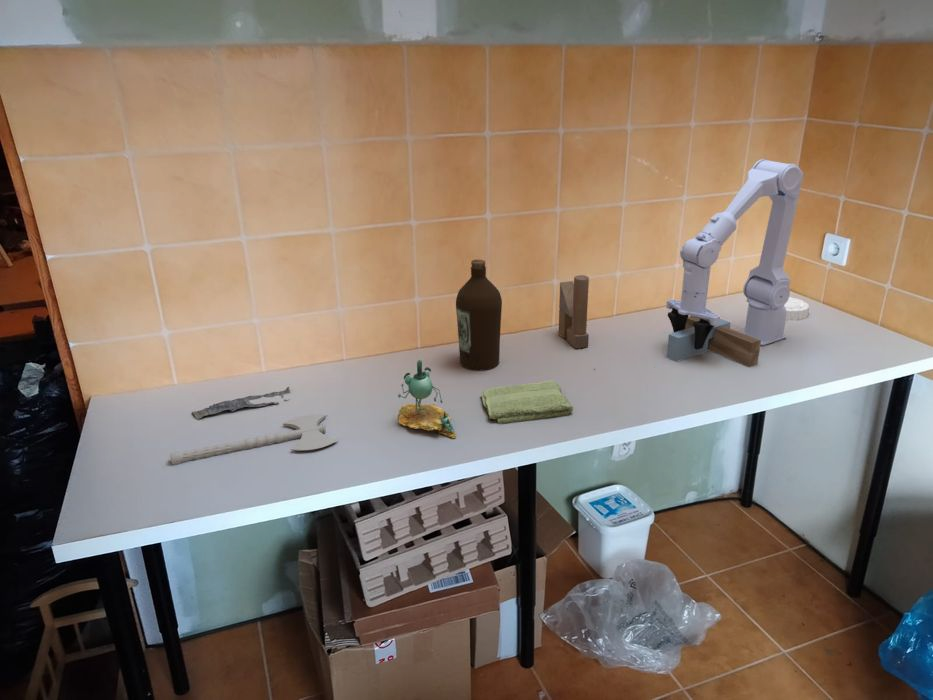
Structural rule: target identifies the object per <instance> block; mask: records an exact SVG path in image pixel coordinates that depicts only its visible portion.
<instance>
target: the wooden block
mask: <svg viewBox="0 0 933 700" xmlns="http://www.w3.org/2000/svg"><path fill="white" fill-rule="evenodd" d="M589 283H590V277H589V276H587V275H582V274H580V275H575V276H574V277H573V281H561V282H560V283H559V304H558V305H559V306H558V308H559V310H558V335H559V336H560V337H561V338H562V339H566V342H567V343H568V344H569V345H571V347H573V348H574V350H575V349H576V350H577V349H583V348H588V347H589V338H590V337H589V336H590V335H589V333H587V321H588V307H589V306H588V305H589V304H588V303H589V302H588V301H589Z"/></svg>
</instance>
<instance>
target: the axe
mask: <svg viewBox="0 0 933 700" xmlns="http://www.w3.org/2000/svg"><path fill="white" fill-rule="evenodd" d="M327 417H328V415H327V414H307V415H302V416H297V417H295V418H291V419H289V420H287V421H285V422H283V423H281V424H282V426H286V427H290V428H292V429H293V430H291V431H285V432H280V431H279V432H276V433H275V434H270V433H269V434H266V435H264V436H259V435H258V436H256V437H254V438H245V439H244V440H240V441H233V442H227V443H224V444H216V445H214V446H206V447H205V446H204V447H203V448H197V449H192V450H189V451H188V450H185V451H173V452H171V453H170V454H169V456H170V462H171V466H175V465H179V464H182V463H186V462H190V461H193V460H195V461H196V460H201V459H203V458H210V457H213V456H221V455H222V454H231V453H233V452H238V451H242V450H251V449H254V448H260V447H263V446H271V445H273V444H280V443H283V442H286V441H291V440H297V439H299V440H298V442H297V443H295V445H293V446H292V447H291V448H290V449H289V450H290V451H291V450H292V451H314V450H318V449H322V448H325V447H328V446H330V445H332V444H333V443H336V442H337V441H339V438H336V437H332V436H328V435H326V432H327V430H326V426H325V424H324V423H322V424H320V423H321V422H322V421H323V420H324V419H326V418H327ZM294 429H295V430H294Z"/></svg>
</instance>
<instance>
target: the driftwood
mask: <svg viewBox="0 0 933 700" xmlns="http://www.w3.org/2000/svg"><path fill="white" fill-rule="evenodd" d="M289 394H291V390H290V386H287V387H286V388H285V389H284V390H281V391H273V392H269V393H266V394H259V395H258V394H257V395H248V396H245V397H240V398H238V397H237V398H235V399H233V400H224V401H220V402H218V403H213V404H212V405H209V407H205V408H202V409H201V410H197V411H191V412H192V415H194V417H195V419H196V420H201V418H203V417H204V416H205V417H206V416H210V415H216V414H218V413H221V412H224V411H227V410H229V411H231V413H233V412H235V411H236V410H239V409H243V408H245V407H248V408H254V407H255V408H257V407H258V408H259V407H266V406H268V405H271V404H273V405H277V406H279V405H280V402H273V401H270V402H266V403H265V402H262V403H257V404H256V403H251V401H253V400H254V401H255V400H258V399H261V398H274V397H277V396H280V398H281V399H283V398H284V395H289ZM290 400H291V399H290V398H288V399H284V400H283V402H289V401H290Z"/></svg>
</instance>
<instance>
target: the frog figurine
mask: <svg viewBox="0 0 933 700" xmlns="http://www.w3.org/2000/svg"><path fill="white" fill-rule="evenodd" d="M431 372H432V369H431V368H430V367H428V366H427V367H424V371H423V360H422V359H418V360H417V363H416V373H414V374H413V376H411V372H406V373H405V375H404V376H403V380H404V383H405V384H406V386H407V387H408V390H406V391H404V385H405V384H404V383H401V384H400V386H401V389H402V394H406V395H405V396H402V395H401V393H398V395H397V397H398V398H403V399H406V398H407V397H408V395H409V394H410V395H411V396H412V397H413V398H414V399H415V404H414V403H408V404H405V405H402V406H401V408H400V409H399V410H398V418H397V420H398V423H399V424H400V425H402V426H404V427H409V428H411V429H415V430H418V429H420V430H421V429H422V430H424V431H434V430H437V431H438V435H439V434H441V435H444V436H445V437H449V438H452V439H455V438H456V437H457V433H456V432H455V431H454V426H453V424H452V423H451V420H452V418H450V416H449V414H448V413H447V411H445V410H443V409H442V408H441V407H439V406H435V405H434V404H425V403H423V404H422V400H424V399H427V398H428V397H430V395H431V394H432V391H433V390H434V391H435V393H436V395H435V397H433V401H434V402H437V397H438V394H439V398H440V403H441V404H443V399H442V395H441V392H440V389H438V388H437V387H435V386H433V382H432V380H431V378H430V377H431V376H430V373H431ZM443 426H444V427H445V428H444V427H443Z"/></svg>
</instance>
